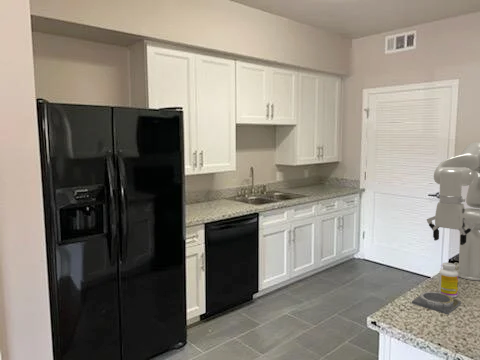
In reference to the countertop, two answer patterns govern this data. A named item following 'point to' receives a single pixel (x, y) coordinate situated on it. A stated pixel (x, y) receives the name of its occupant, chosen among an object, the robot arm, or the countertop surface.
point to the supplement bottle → (448, 280)
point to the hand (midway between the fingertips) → (449, 242)
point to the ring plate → (444, 310)
